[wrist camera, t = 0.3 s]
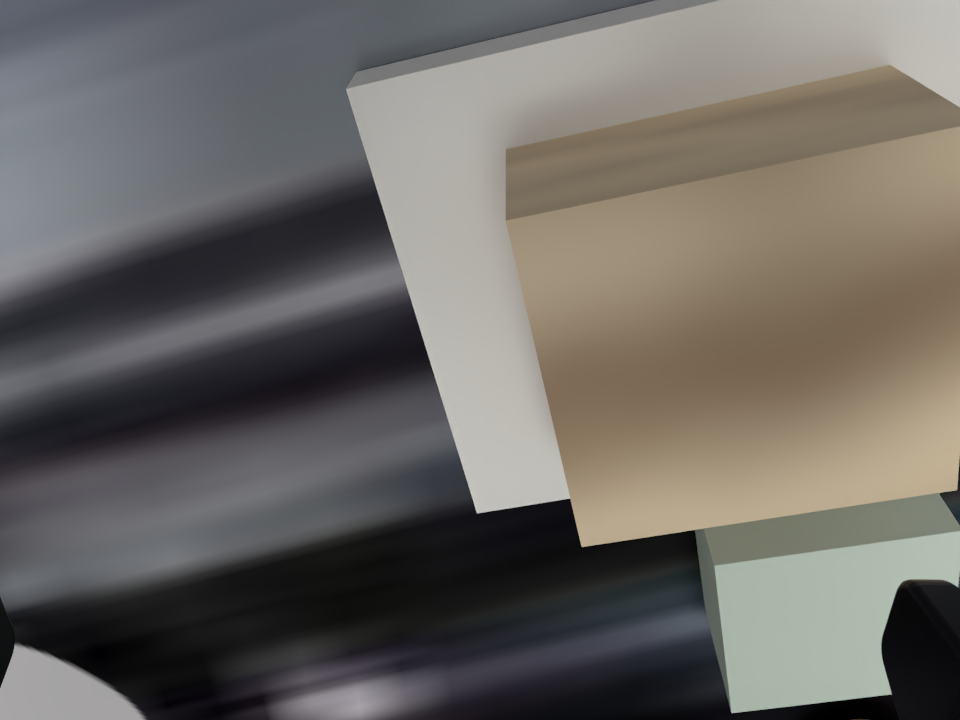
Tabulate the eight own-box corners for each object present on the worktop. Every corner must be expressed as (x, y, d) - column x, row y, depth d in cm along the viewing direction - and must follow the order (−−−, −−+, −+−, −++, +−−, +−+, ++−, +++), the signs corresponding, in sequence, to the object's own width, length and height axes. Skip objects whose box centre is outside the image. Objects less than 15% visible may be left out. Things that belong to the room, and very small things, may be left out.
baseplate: (978, 396, 23) (1005, 428, 22) (478, 478, 25) (477, 513, 24) (1018, -87, 17) (1058, -80, 16) (356, 71, 19) (346, 88, 18)
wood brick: (885, 385, 22) (956, 490, 18) (570, 439, 23) (581, 546, 19) (889, 64, 18) (983, 121, 14) (505, 149, 19) (505, 221, 15)
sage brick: (894, 581, 27) (949, 687, 24) (704, 606, 28) (731, 713, 25) (899, 432, 24) (963, 530, 21) (685, 466, 25) (714, 565, 22)
